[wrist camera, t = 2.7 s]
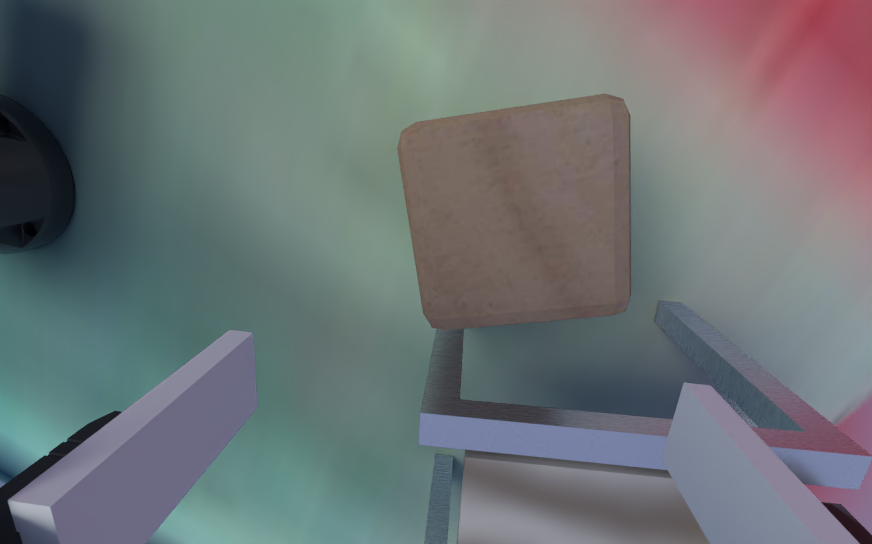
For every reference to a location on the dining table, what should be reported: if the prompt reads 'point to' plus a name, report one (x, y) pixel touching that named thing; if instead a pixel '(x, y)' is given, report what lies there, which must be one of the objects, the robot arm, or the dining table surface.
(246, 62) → the dining table surface
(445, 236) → the block
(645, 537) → the trapdoor
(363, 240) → the dining table surface
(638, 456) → the frame
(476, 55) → the dining table surface
